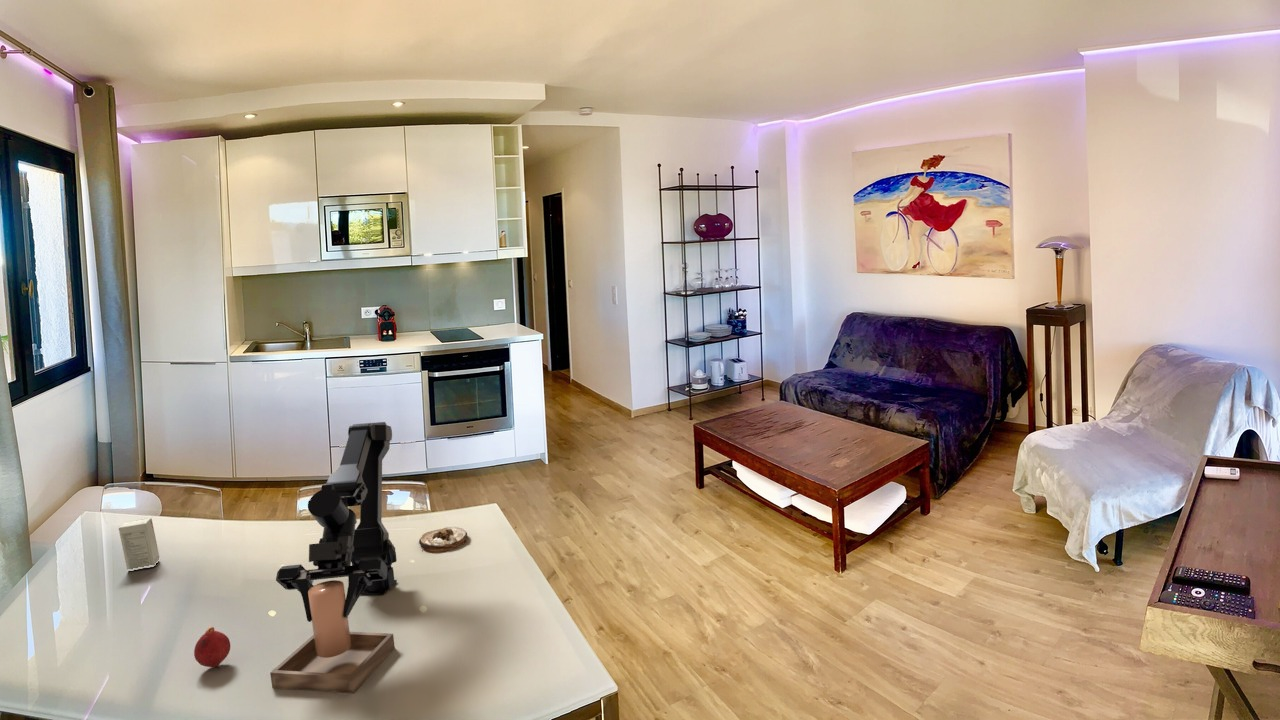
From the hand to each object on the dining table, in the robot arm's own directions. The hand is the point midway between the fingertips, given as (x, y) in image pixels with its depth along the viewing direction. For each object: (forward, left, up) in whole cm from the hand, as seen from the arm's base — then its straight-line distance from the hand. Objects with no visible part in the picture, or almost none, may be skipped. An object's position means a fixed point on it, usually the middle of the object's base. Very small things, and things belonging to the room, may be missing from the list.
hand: (327, 619), depth 126 cm
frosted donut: (-5, +57, -11) cm, 59 cm away
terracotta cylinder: (0, +1, -7) cm, 7 cm away
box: (0, +1, -10) cm, 10 cm away
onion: (-24, -1, -11) cm, 27 cm away
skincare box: (-79, +38, -11) cm, 89 cm away
